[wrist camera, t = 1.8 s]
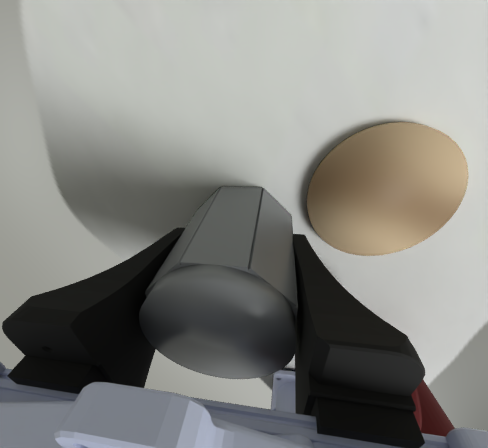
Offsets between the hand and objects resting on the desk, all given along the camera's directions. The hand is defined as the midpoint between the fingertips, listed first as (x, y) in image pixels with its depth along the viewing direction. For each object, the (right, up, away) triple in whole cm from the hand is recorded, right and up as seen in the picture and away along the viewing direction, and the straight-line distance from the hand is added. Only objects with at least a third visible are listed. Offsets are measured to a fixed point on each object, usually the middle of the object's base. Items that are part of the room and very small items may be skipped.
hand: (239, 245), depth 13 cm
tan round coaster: (+7, +3, -1) cm, 8 cm away
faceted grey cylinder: (0, +1, +1) cm, 2 cm away
